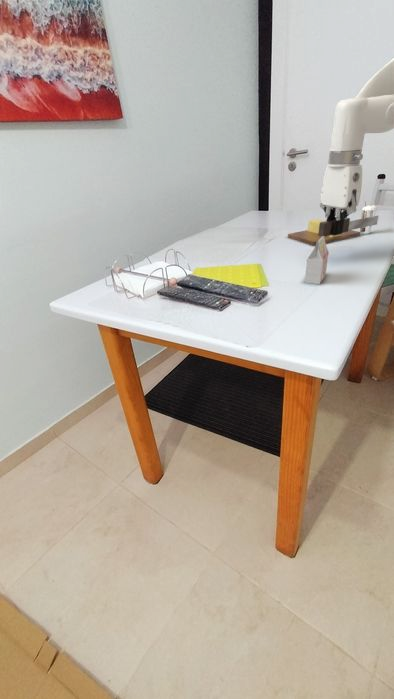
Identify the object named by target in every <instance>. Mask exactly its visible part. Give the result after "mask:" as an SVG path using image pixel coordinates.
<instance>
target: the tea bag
mask: <svg viewBox="0 0 394 699" xmlns="http://www.w3.org/2000/svg"><path fill="white" fill-rule="evenodd" d="M328 262H329V249H328V246H327V243H325V239H324V236H322V237H321V238H320V240H319V241H318V242H317V243H316V245H315V246H314V247H313V250H311V252H310V254H309V256H308V258H307V259H306V267H305V276H304V283H308V284H315V285H320V284H321V283H322V282H323V280H324V278H325V277H326V275H327V268H328Z"/></svg>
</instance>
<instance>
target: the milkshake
mask: <svg viewBox="0 0 394 699" xmlns="http://www.w3.org/2000/svg"><path fill="white" fill-rule="evenodd" d="M377 210H378V208H377V206H376V205H373V204H372V205H367V201H366V200H365V201H364V206H363V207H362V208H361V218H360V219H363V218H368V217H373V216H376V213H377ZM371 230H372V226H367V227H363V228H359V232H360V235H369V234H370V233H371Z"/></svg>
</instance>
